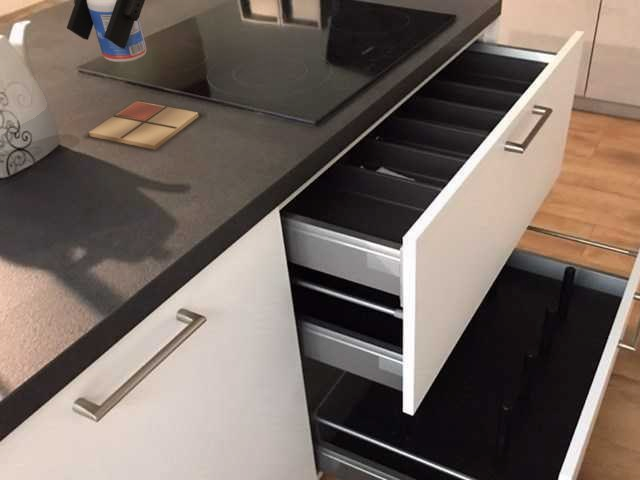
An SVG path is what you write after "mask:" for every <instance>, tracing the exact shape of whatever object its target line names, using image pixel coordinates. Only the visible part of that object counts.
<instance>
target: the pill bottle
mask: <svg viewBox="0 0 640 480" xmlns="http://www.w3.org/2000/svg"><path fill="white" fill-rule="evenodd" d="M116 1H117V0H87V4H88V8H89V11H90V15H91V18H92V21H93V27H94V31H95V34H96V39H97V41H98V44H99V48H100V51H101V53H102V56H103V58H104V59H105V60H106V61H109V62H113V63H115V62H116V63H123V62H124V63H127V62H132V61H136V60H139V59H141V58H142V57H144V56H145V55H146V53H147V46H146V41H145V38H144V34H143V30H142V26H141V22H140V19H139V18H140V17H139V18H138V20H137V21H134V24H133V27H132V30H131V33H130V35H129V38H128V41H127V44H126V47H125V49H124V48H120V47H119V46H117V45H116V44H114V43H113V42H111V41H109V40H108V39H106V38H105V37H104V35H105V32H106V29H107V26H108V24H109V21H110V18H111V15H112V12H113V9H114V6H115V3H116Z"/></svg>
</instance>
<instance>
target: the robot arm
mask: <svg viewBox="0 0 640 480" xmlns="http://www.w3.org/2000/svg"><path fill="white" fill-rule="evenodd" d="M145 2H146V0H117V1H116V3H115V6H114V9H113V12H112V15H111V18H110V21H109V24H108V26H107V29H106V32H105V35H104V37H105V38H106V39H108V40H109V41H111V42H113V43H114V44H116V45H117V46H119V47H120V48H124V49H125V47H126V44H127V41H128V38H129V35H130V33H131V30H132V27H133V24H134V21H137V20H138V18H140V16H141V14H142V10H143V7H144V5H145ZM73 4H74V5H73V8H72V11H71V14H70V17H69V19H68V23H67V25H66V29H67V30H68V31H71V32H72V33H74V34H75V35H77V36H78V37H80V38H81V39H83V40H85V41H88V40H89V39H90V36H91V33H92V30H93V27H94V25H93V21H92V18H91V15H90V11H89V8H88V4H87V0H73Z"/></svg>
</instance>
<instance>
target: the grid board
mask: <svg viewBox="0 0 640 480" xmlns="http://www.w3.org/2000/svg"><path fill="white" fill-rule="evenodd" d="M199 115H200V114H199V112H197V111H192V110H187V109H182V108H181V109H180V108H175V107H172V106H171V107H170V106H167V105H160V104H155V103H150V102H143V101H139V100H136V101H135V102H133V103H131V104H130V105H129V106H127V107H125V108H124V109H121V111H119V112H117V113H116V114H114V115H112V116H111V117H110V118H109V119H107V120H105V121H104V122H102V123H101V124H99V125H98V126H96V127H94V128H93V129H91V130H90V131H88V134H89V137H93V138H98V139H102V140H107V141H111V142H116V143H121V144H126V145H131V146H136V147H140V148H146V149H150V150H157V149H158V148H159V147H161V146H162V145H163V144H165V143H166V142H167V141H168V140H170V139H171V138H172V137H174V136H175V135H176V134H178V133H179V132H180V131H182V130H183V129H184V128H186V127H187V126H188V125H189V124H191V123H192V122H194V121H195V120H197V118H198V117H200V116H199Z"/></svg>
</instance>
